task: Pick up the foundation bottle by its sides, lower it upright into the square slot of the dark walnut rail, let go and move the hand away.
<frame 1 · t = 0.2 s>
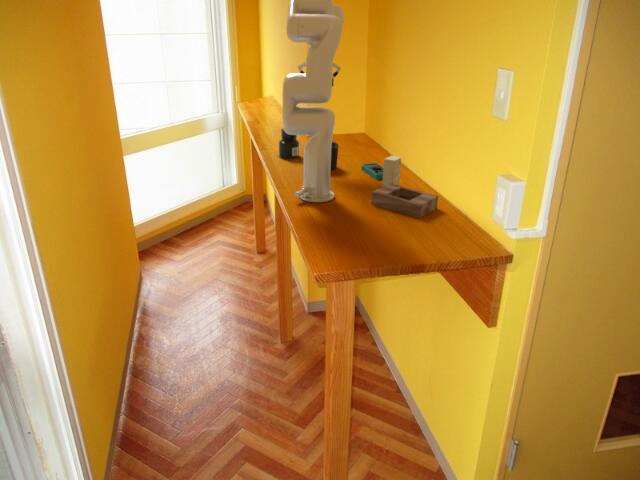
hand: (318, 88, 218), 31 cm above the table, tool pointing down, fingers open, 9 cm apart
pen holder: (326, 168, 223), on the table
ink bottle: (289, 156, 238), on the table
digital multimeter: (376, 175, 218), on the table
skincare box: (390, 190, 200), on the table
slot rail: (403, 206, 184), on the table
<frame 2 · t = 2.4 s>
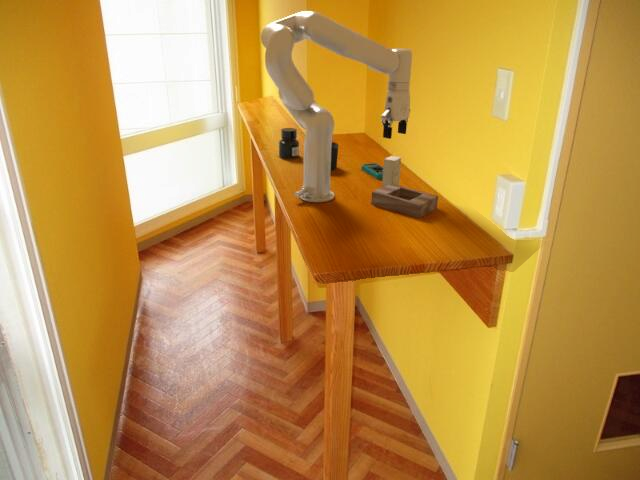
hand: (394, 135, 191), 20 cm above the table, tool pointing down, fingers open, 9 cm apart
nothing on the table moved.
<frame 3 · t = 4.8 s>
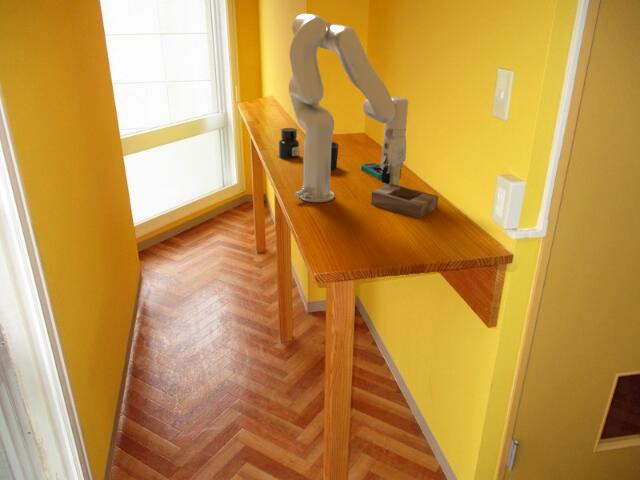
hand: (391, 180, 198), 4 cm above the table, tool pointing down, fingers closed on skincare box, 6 cm apart
skincare box: (390, 190, 200), on the table, touching gripper
everything else where it was.
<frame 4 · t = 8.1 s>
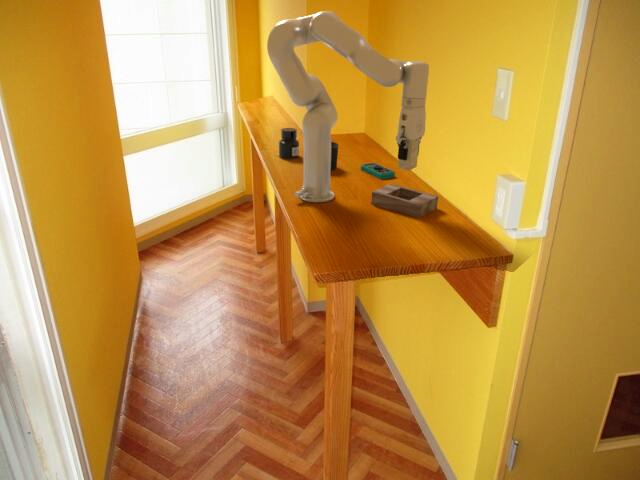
hand: (408, 156, 177), 17 cm above the table, tool pointing down, fingers closed on skincare box, 6 cm apart
skincare box: (407, 168, 179), point 14 cm above the table, touching gripper
everything else where it was.
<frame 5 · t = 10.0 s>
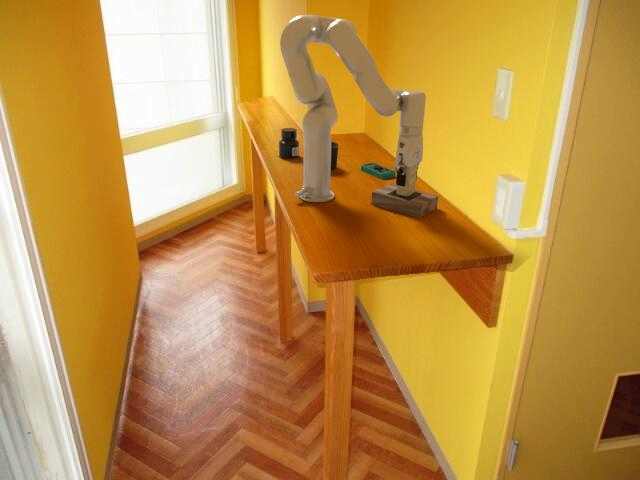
hand: (406, 182, 181), 9 cm above the table, tool pointing down, fingers closed on skincare box, 6 cm apart
skincare box: (405, 193, 182), point 5 cm above the table, touching gripper
when the fingers open (6 cm above the table, at t = 11.6 s): skincare box drops 2 cm, resting in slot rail.
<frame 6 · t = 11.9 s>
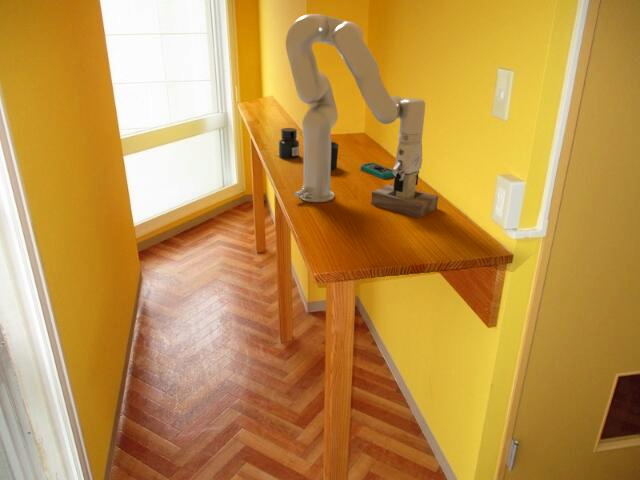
hand: (405, 187, 181), 7 cm above the table, tool pointing down, fingers open, 9 cm apart
skincare box: (404, 206, 184), resting in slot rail
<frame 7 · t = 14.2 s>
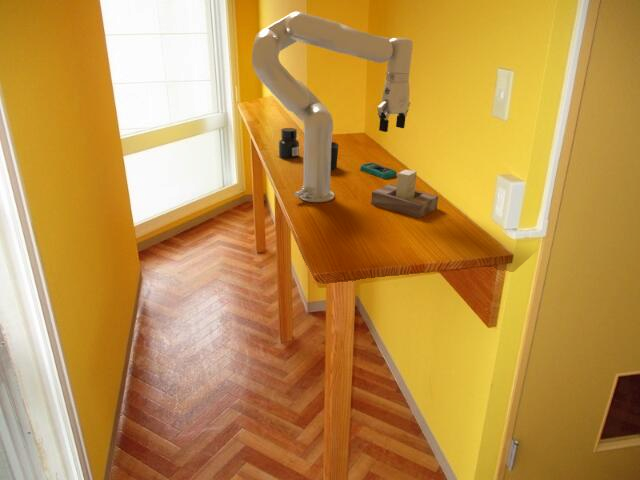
hand: (391, 129, 183), 24 cm above the table, tool pointing down, fingers open, 9 cm apart
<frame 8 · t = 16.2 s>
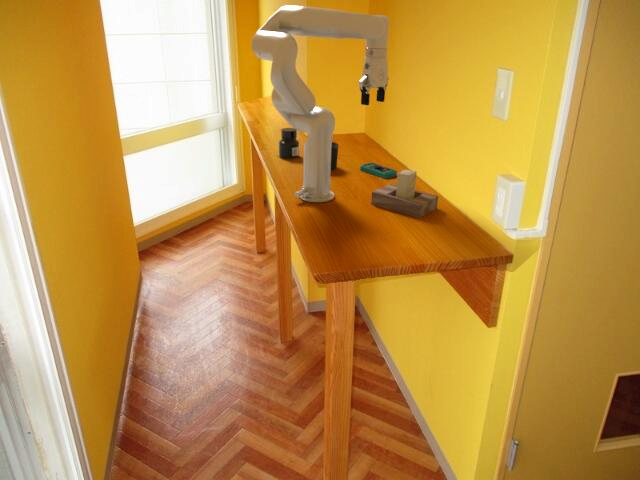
hand: (372, 103, 194), 30 cm above the table, tool pointing down, fingers open, 9 cm apart
at the end: skincare box 0.3 cm off-centre on the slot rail, point 0.0 cm above the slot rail's base; skincare box tilted 0°; the gripper is holding nothing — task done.
